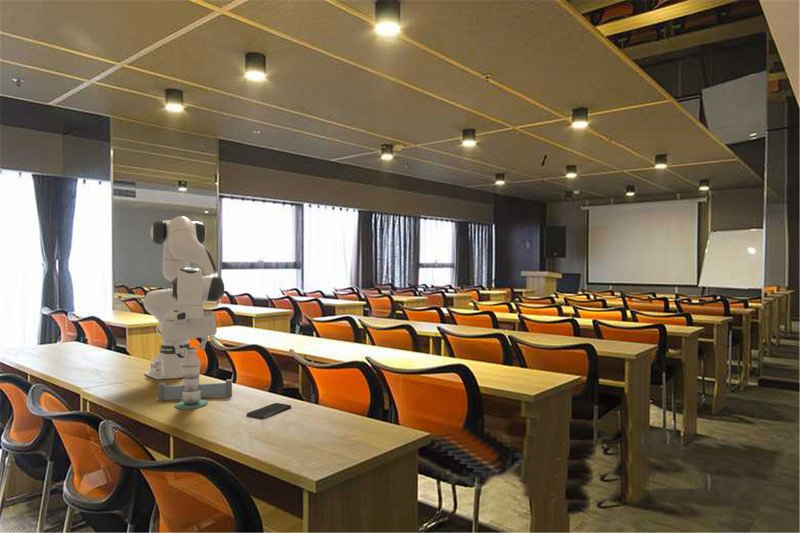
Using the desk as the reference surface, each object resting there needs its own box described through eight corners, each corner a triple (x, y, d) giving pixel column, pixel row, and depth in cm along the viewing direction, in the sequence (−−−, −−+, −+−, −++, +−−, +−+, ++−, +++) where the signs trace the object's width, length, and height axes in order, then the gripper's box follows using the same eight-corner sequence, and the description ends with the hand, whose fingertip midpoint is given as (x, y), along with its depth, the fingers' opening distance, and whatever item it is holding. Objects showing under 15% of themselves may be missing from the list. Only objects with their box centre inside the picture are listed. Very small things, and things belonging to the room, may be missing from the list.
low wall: (158, 400, 190) (157, 384, 190) (159, 399, 192) (159, 383, 192) (231, 396, 196) (231, 380, 196) (232, 394, 198) (231, 379, 198)
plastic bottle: (196, 406, 181) (195, 349, 181) (177, 406, 181) (177, 349, 181) (204, 401, 187) (204, 346, 187) (187, 400, 188) (186, 346, 188)
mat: (168, 406, 182) (168, 405, 182) (194, 399, 192) (194, 398, 192) (187, 411, 177) (187, 410, 177) (214, 403, 186) (214, 402, 186)
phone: (292, 405, 181) (262, 417, 167) (292, 408, 181) (262, 420, 167) (275, 402, 184) (244, 413, 171) (275, 405, 184) (244, 417, 171)
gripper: (209, 309, 194) (209, 345, 195) (159, 315, 177) (159, 354, 177) (220, 310, 191) (220, 347, 191) (170, 316, 173) (170, 356, 174)
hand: (190, 351), depth 184 cm, fingers open, 8 cm apart
